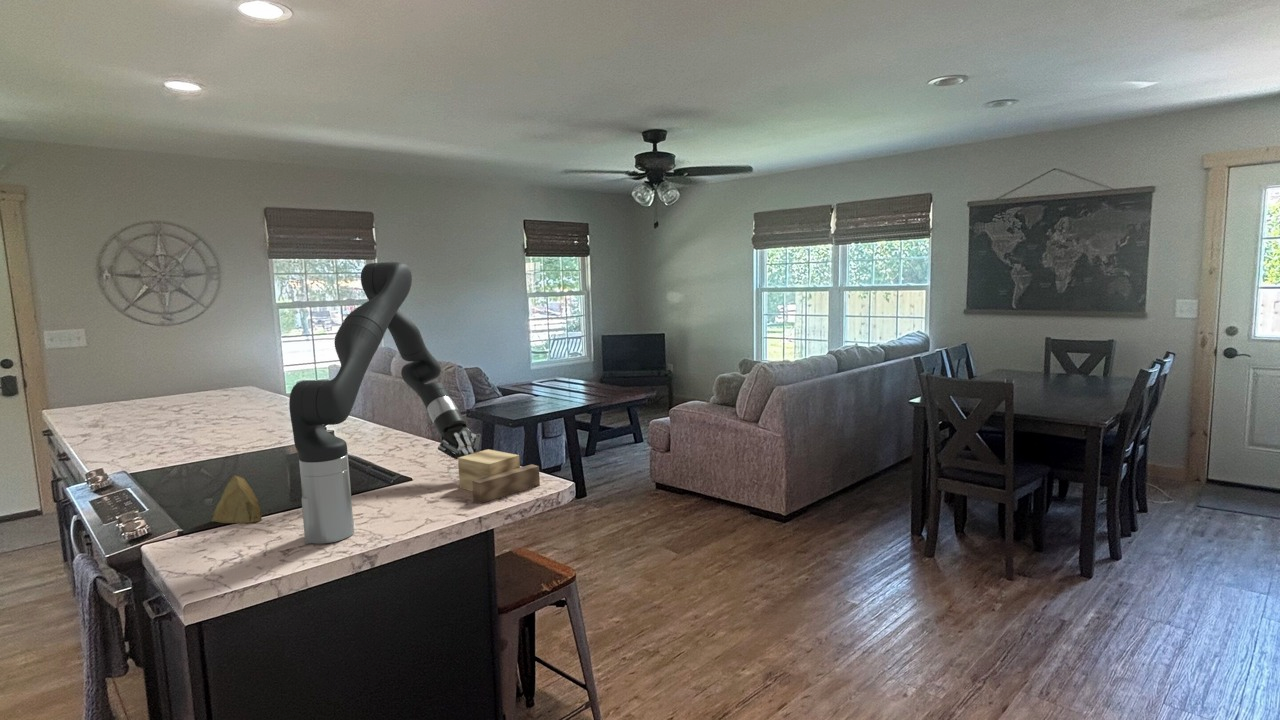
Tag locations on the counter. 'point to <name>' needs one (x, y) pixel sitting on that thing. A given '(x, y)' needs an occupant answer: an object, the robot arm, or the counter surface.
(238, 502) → the rock
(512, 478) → the walnut board
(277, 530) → the counter surface
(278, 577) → the counter surface
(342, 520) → the robot arm
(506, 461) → the oak block
